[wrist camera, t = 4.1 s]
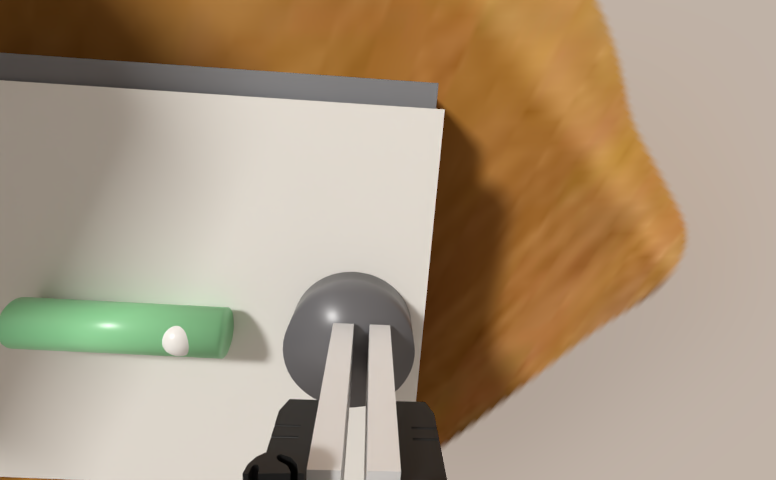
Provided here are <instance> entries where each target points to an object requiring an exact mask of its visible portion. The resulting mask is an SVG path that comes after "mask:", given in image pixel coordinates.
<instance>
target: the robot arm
mask: <svg viewBox="0 0 776 480" xmlns="http://www.w3.org/2000/svg"><path fill="white" fill-rule="evenodd" d="M353 332H354V324H347V323H333V327H332V332H331V338H330V343H329V349H328V354H327V360H326V365H325V371H324V376H323V382H322V387H321V393H320V399H319V400H306V399H289V400H288V401H287V402H286V403H285V405H284V406H283V407H282V408H281V409H280V410H279V412H278V415H277V419H276V422H275V427H274V428H273V432H272V435H271V438H270V442H269V445H268V448H267V451H266V452H265V453H263V454H261V455H259V456H257V457H255V458H254V459H253V460H252V461H251V462H250V463H248V465H247V466H246V468H245V470H244V472H243V473H242V475H243V480H344V472H345V459H346V446H347V433H348V420H349V408H350V395H351V378H352V355H353ZM364 480H447V478H446V473H445V468H444V462H443V457H442V452H441V447H440V442H439V437H438V432H437V427H436V421H435V416H434V413H433V412H432V411H431V409H430V408H429V407H428V405H427V404H426V403H425V402H410V401H396V398H395V385H394V371H393V358H392V345H391V331H390V325H372V324H370V326H369V344H368V362H367V380H366V412H365V452H364Z"/></svg>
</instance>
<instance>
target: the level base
mask: <svg viewBox="0 0 776 480" xmlns="http://www.w3.org/2000/svg"><path fill="white" fill-rule="evenodd" d="M0 80H5V81H20V82H35V83H50V84H65V85H81V86H96V87H111V88H126V89H142V90H157V91H172V92H187V93H202V94H218V95H233V96H248V97H263V98H279V99H294V100H309V101H324V102H339V103H355V104H370V105H385V106H400V107H416V108H431V109H436V104H437V93H438V83H427V82H412V81H398V80H384V79H370V78H355V77H341V76H327V75H312V74H298V73H284V72H269V71H255V70H241V69H227V68H212V67H198V66H184V65H169V64H155V63H141V62H127V61H112V60H98V59H84V58H69V57H55V56H41V55H27V54H12V53H0Z"/></svg>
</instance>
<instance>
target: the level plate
mask: <svg viewBox="0 0 776 480" xmlns="http://www.w3.org/2000/svg"><path fill="white" fill-rule="evenodd" d="M444 112H445V110H444V109H431V108H416V107H400V106H385V105H370V104H355V103H339V102H324V101H309V100H294V99H279V98H263V97H248V96H233V95H218V94H202V93H187V92H172V91H157V90H142V89H126V88H111V87H96V86H81V85H65V84H50V83H35V82H20V81H5V80H0V477H21V478H47V479H72V480H243V475H242V473H243V472H244V470H245V468H246V466H247V465H248V463H250V462H251V461H252V460H253V459H254V458H255V457H257V456H259V455H261V454H263V453H265V452H266V451H267V448H268V445H269V442H270V438H271V435H272V432H273V428H274V427H275V422H276V419H277V415H278V412H279V410H280V409H281V408H282V407H283V406H284V405H285V403H286V402H287V401H288V400H289V399H306V400H319V399H320V393H321V387H322V382H323V376H324V371H325V365H326V360H327V354H328V349H329V343H330V338H331V332H332V327H333V323H347V324H354V332H353V355H352V378H351V395H350V408H349V420H348V433H347V446H346V459H345V472H344V480H364V452H365V412H366V380H367V362H368V344H369V326H370V324H372V325H390V331H391V345H392V358H393V371H394V385H395V398H396V401H410V402H416V395H417V385H418V375H419V365H420V355H421V345H422V335H423V325H424V315H425V305H426V294H427V284H428V274H429V264H430V254H431V244H432V234H433V224H434V214H435V203H436V193H437V183H438V173H439V163H440V153H441V143H442V133H443V123H444Z"/></svg>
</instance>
